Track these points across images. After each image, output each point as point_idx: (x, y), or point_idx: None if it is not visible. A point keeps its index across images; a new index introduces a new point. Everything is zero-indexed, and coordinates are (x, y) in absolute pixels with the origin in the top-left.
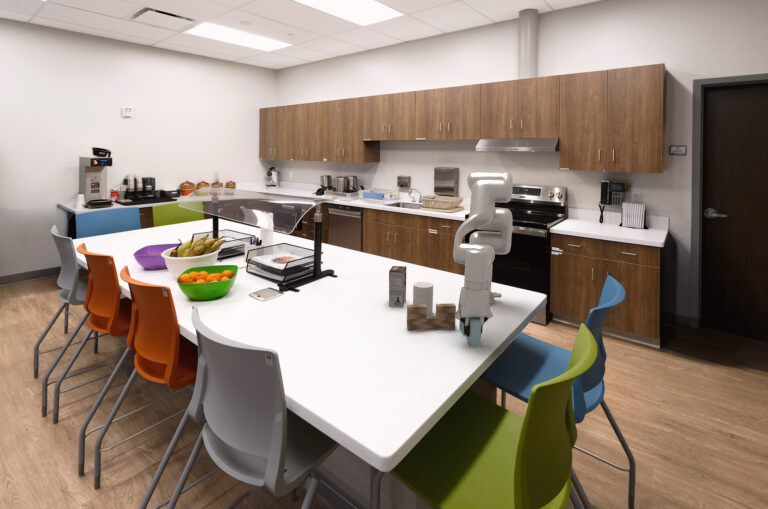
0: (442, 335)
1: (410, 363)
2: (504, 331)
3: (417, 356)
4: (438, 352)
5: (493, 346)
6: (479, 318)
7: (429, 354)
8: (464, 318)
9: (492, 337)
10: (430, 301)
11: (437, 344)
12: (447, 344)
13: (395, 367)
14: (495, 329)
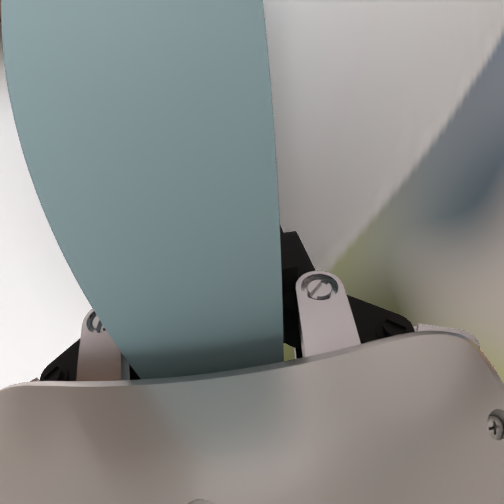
0: (4, 132)
1: (16, 380)
2: (466, 54)
3: (7, 353)
4: (49, 335)
5: (328, 262)
6: (314, 338)
7: (29, 346)
8: (95, 370)
9: (376, 130)
10: None
11: (14, 267)
12: (55, 263)
13: (3, 387)
14: (431, 7)
